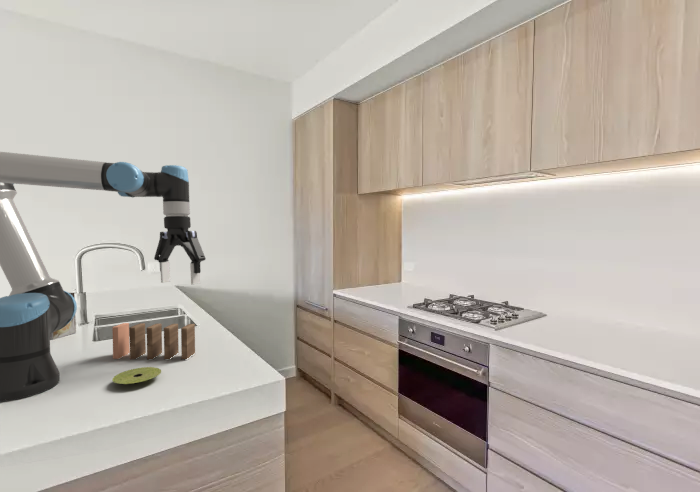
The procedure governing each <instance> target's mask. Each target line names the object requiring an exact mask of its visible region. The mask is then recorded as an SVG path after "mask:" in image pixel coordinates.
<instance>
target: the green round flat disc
mask: <svg viewBox="0 0 700 492" xmlns="http://www.w3.org/2000/svg"><path fill="white" fill-rule="evenodd" d="M160 374H162V369H161V368H158V367H154V366H147V367H146V366H143V367H136V368H131V369H128V370H125V371H122V372H119V373H118V374H116V375H115V376H113V378H112V382H113V383H114V384H123V385H129V384H135V383H141V382H147V381H149V380H152V379H154V378H156V377H158V376H159V375H160Z"/></svg>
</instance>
